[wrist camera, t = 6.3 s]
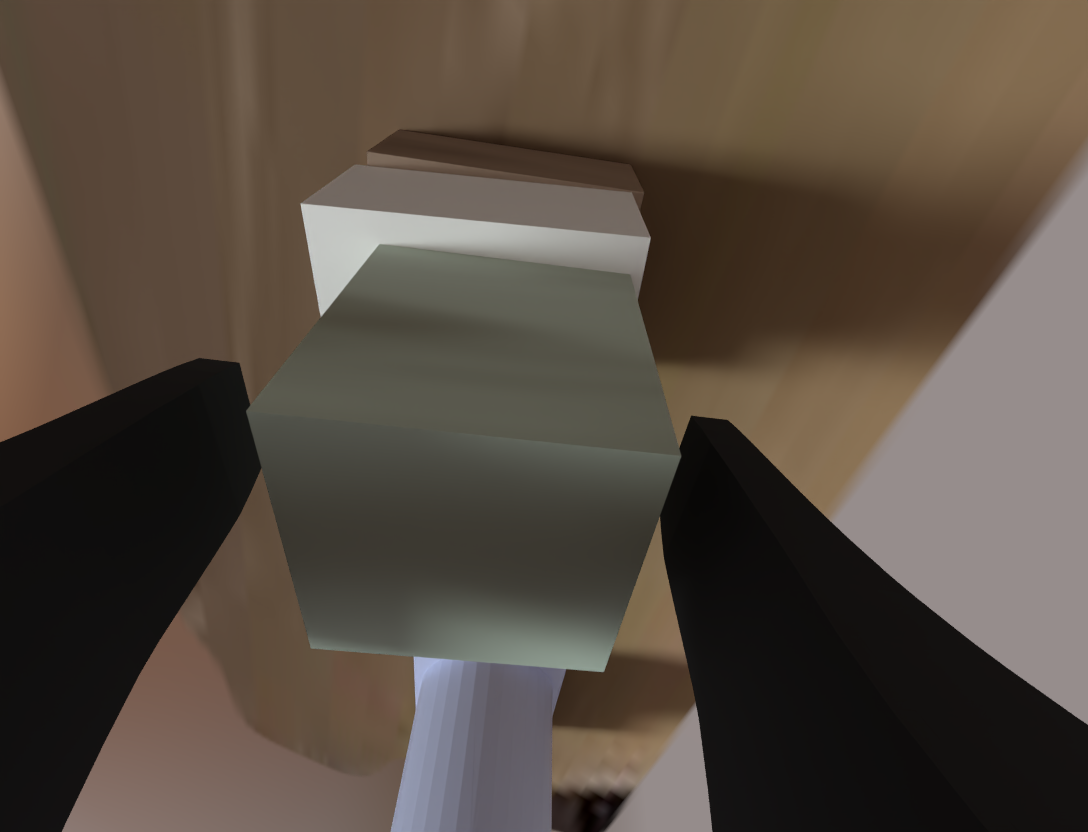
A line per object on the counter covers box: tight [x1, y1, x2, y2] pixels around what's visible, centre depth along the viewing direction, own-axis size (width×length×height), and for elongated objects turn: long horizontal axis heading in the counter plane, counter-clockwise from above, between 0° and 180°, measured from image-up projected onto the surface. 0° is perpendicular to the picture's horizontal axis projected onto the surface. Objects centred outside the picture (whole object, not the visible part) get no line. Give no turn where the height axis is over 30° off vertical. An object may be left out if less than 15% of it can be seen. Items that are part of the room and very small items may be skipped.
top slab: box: [301, 165, 651, 317], centre depth 12 cm, size 6×6×3 cm
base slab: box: [367, 130, 644, 211], centre depth 14 cm, size 6×6×3 cm
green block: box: [246, 244, 681, 672], centre depth 9 cm, size 4×4×5 cm
